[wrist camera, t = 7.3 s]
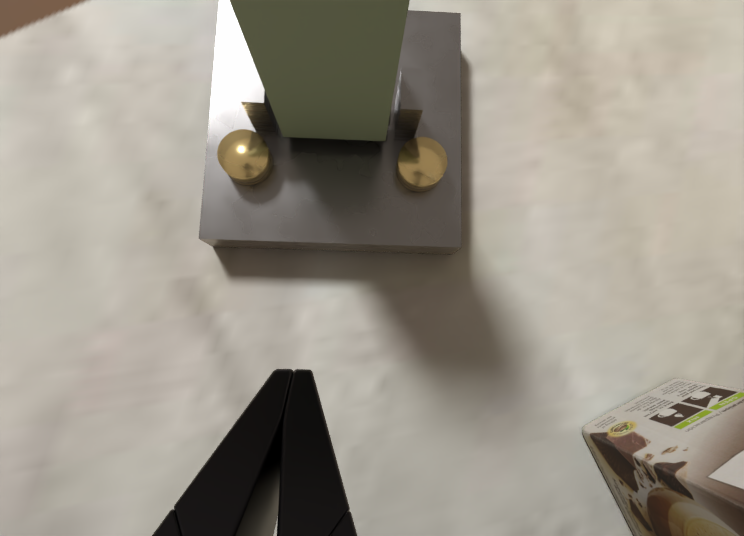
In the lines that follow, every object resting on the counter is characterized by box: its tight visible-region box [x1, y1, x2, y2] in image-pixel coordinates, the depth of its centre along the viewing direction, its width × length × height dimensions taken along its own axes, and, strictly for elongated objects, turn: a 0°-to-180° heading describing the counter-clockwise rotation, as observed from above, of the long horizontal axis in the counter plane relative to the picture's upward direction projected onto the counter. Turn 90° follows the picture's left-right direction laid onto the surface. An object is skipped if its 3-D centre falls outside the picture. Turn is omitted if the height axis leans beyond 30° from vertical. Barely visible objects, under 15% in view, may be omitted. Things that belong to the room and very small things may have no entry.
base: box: [199, 0, 461, 254], centre depth 21 cm, size 13×13×5 cm
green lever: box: [229, 0, 409, 141], centre depth 15 cm, size 3×5×13 cm, turn 88°
